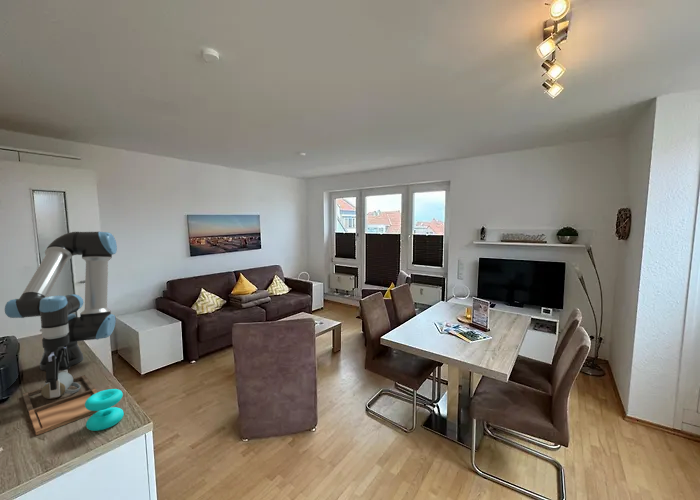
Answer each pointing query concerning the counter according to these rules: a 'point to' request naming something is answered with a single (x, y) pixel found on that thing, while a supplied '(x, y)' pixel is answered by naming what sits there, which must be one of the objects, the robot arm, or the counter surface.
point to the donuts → (104, 409)
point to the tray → (59, 409)
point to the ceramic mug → (61, 385)
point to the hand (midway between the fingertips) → (59, 390)
